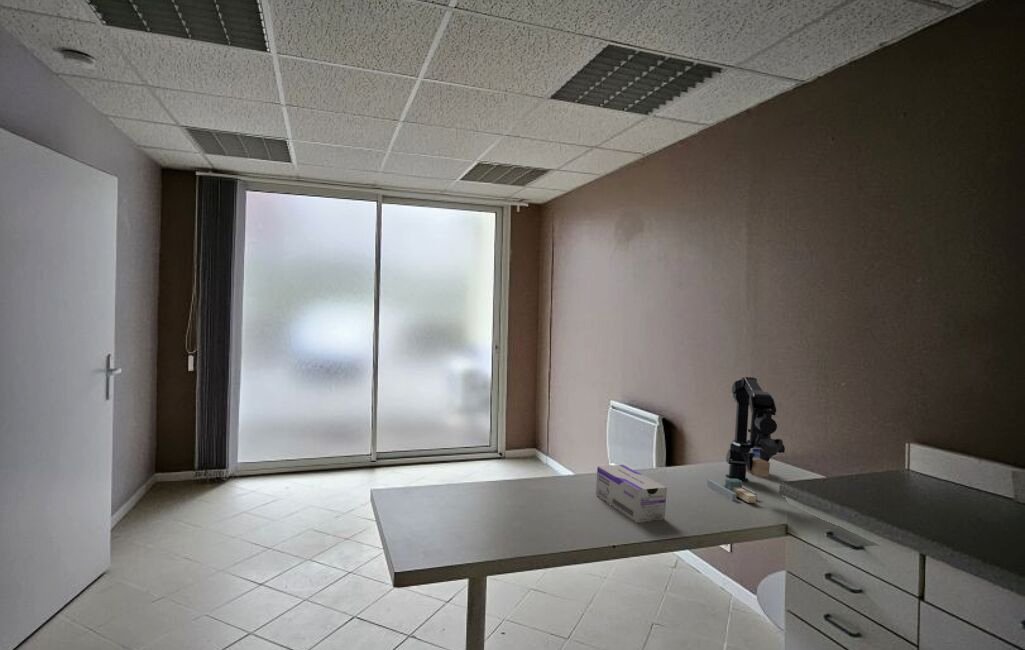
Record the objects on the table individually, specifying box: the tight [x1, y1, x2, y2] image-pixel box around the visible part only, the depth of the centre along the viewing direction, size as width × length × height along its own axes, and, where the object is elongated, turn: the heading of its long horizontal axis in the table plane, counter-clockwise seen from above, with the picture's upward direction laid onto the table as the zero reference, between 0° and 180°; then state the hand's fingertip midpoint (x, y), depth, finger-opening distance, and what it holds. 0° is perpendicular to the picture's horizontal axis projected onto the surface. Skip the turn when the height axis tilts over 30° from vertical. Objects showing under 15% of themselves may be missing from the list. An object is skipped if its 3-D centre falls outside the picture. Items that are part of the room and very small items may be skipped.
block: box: [746, 458, 771, 478], centre depth 194 cm, size 6×5×5 cm
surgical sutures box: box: [595, 464, 668, 523], centre depth 181 cm, size 25×11×11 cm, turn 22°
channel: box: [706, 479, 758, 502], centre depth 202 cm, size 16×10×2 cm, turn 13°
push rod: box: [724, 478, 757, 504], centre depth 196 cm, size 12×5×4 cm, turn 13°
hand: (756, 470), depth 194 cm, fingers closed on block, 5 cm apart
